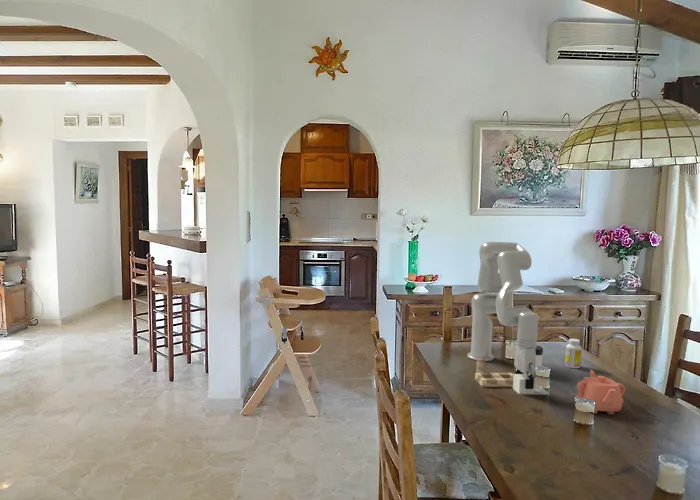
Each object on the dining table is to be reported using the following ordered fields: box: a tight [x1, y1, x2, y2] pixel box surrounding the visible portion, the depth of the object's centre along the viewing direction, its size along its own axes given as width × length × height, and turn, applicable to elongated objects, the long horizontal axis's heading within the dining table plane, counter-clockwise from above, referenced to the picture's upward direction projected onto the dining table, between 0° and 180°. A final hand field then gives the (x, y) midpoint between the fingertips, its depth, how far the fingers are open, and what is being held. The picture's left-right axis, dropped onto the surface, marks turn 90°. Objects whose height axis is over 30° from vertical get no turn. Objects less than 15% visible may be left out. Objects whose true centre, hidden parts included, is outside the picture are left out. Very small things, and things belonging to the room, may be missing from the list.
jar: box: [524, 344, 544, 375], centre depth 229 cm, size 9×8×12 cm
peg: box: [475, 358, 486, 373], centre depth 221 cm, size 3×3×8 cm
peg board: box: [474, 372, 515, 388], centre depth 214 cm, size 9×16×3 cm, turn 95°
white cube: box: [512, 373, 536, 395], centre depth 206 cm, size 6×6×6 cm
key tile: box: [510, 386, 552, 396], centre depth 206 cm, size 8×13×4 cm, turn 95°
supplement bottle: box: [564, 338, 583, 369], centre depth 240 cm, size 7×7×13 cm
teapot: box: [576, 369, 626, 415], centre depth 190 cm, size 15×17×13 cm
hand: (524, 384), depth 206 cm, fingers open, 9 cm apart
